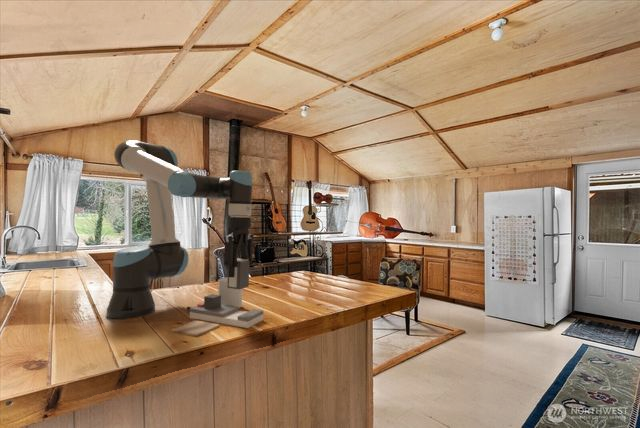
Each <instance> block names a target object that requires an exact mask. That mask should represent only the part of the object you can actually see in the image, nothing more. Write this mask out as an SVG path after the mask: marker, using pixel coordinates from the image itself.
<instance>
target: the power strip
mask: <svg viewBox="0 0 640 428" xmlns="http://www.w3.org/2000/svg"><path fill="white" fill-rule="evenodd" d="M203 299H204V300H203V301H202V302H200V303H197V304H196V305H195V306H193V307H191V308H190V310H189V318H190V319H195V320H199V321H204V322H210V323H215V324H221V325H228V326H234V327H239V328H245V329H249V328H250V327H252V325H253V326H255V325H257V324H258V323H260V322H263V320H264V310H262V309H255V308H253V309H251V310H248V311H246V310H241V309H240V308H239V307H236V306H230V305H223V304H221V295H218V294H214V293H211V294H209V295H205V296H204V297H203Z"/></svg>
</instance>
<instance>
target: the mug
mask: <svg viewBox="0 0 640 428" xmlns="http://www.w3.org/2000/svg"><path fill="white" fill-rule="evenodd" d="M217 283H218V285H217V287H218V291H217V295H221V304H223V305H230V306H236V307H239V309H240V308H241V307H242V306H243V289H240V290H239V289H232V288H227V285H228V276H227V277H221V278H219V279H218V282H217Z"/></svg>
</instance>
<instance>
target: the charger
mask: <svg viewBox="0 0 640 428" xmlns="http://www.w3.org/2000/svg"><path fill="white" fill-rule="evenodd" d="M236 267H237V287H229V267H227V277H228V285H227V288H232V289H239V290H240V289H242V290H244V289H246V288H248V287H249V285H250V284H249V283H250V265H249V259H241V257H237V262H236Z"/></svg>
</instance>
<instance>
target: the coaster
mask: <svg viewBox="0 0 640 428" xmlns="http://www.w3.org/2000/svg"><path fill="white" fill-rule="evenodd" d="M220 326H221V323H215V322H210V321H204V320H199V319H195V320H192V321H191V322H190V321H189V322H188V323H185V324H183V325H180V326H177V327H175V328H172V329H171V333H174V334H175V333H176V334H182V335H186V336H189V337H190V336H191V337H196V338H197V337H200V336H201V335H204V334H207V333H209V332H210V331H213V330H215V329H217V328H219V327H220Z"/></svg>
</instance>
